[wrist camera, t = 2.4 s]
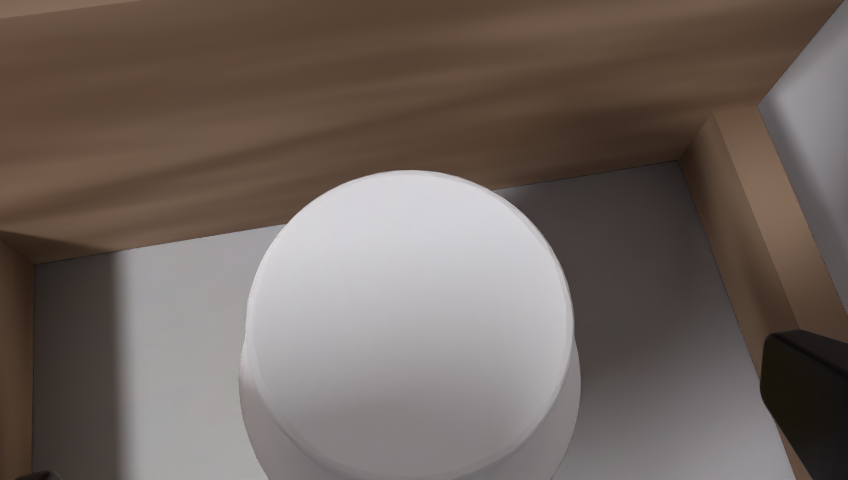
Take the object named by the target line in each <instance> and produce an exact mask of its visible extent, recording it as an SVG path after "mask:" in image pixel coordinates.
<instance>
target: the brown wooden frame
mask: <svg viewBox="0 0 848 480" xmlns="http://www.w3.org/2000/svg"><path fill="white" fill-rule="evenodd" d="M843 1H844V0H0V480H14V479H15V478H16V477H19V476H21V475H25V474H31V473H32V407H33V342H34V277H35V264H41V263H47V262H53V261H59V260H65V259H71V258H77V257H84V256H90V255H96V254H102V253H108V252H114V251H121V250H127V249H133V248H139V247H145V246H151V245H157V244H164V243H170V242H176V241H182V240H188V239H194V238H201V237H207V236H213V235H219V234H225V233H231V232H237V231H244V230H250V229H256V228H262V227H268V226H274V225H281V224H287V223H288V222H289V221H290V220H291V219H292V218H293V217H294V216H295V215H296V214H297V213H298V212H299V211H301V210H302V209H303V208H304V207H305V206H307V205H308V204H309V203H310V202H312V201H313V200H314V199H316V198H317V197H319V196H321V195H322V194H324V193H326V192H327V191H329V190H331V189H333V188H335V187H337V186H339V185H341V184H343V183H346V182H349V181H352V180H355V179H358V178H361V177H365V176H368V175H372V174H376V173H381V172H389V171H399V170H420V171H432V172H440V173H444V174H449V175H453V176H458V177H461V178H463V179H466V180H469V181H471V182H474V183H476V184H478V185H481V186H483V187H486V188H487V189H489V190H496V189H502V188H508V187H514V186H520V185H527V184H533V183H539V182H545V181H551V180H557V179H563V178H570V177H576V176H582V175H588V174H594V173H600V172H607V171H613V170H619V169H625V168H631V167H637V166H643V165H650V164H656V163H662V162H668V161H674V160H678V161H679V163H680V166H681V169H682V171H683V174H684V177H685V180H686V182H687V185H688V188H689V190H690V193H691V196H692V198H693V201H694V204H695V207H696V209H697V212H698V215H699V217H700V220H701V223H702V226H703V228H704V231H705V234H706V236H707V239H708V242H709V245H710V247H711V250H712V253H713V255H714V258H715V261H716V263H717V266H718V269H719V272H720V274H721V277H722V280H723V282H724V285H725V288H726V291H727V293H728V296H729V299H730V301H731V304H732V307H733V309H734V312H735V315H736V318H737V320H738V323H739V326H740V328H741V331H742V334H743V337H744V339H745V342H746V345H747V347H748V350H749V353H750V356H751V358H752V361H753V364H754V366H755V369H756V372H757V374H758V377H759V380H760V375H761V364H762V353H763V344H764V341H765V338H766V337H767V336H768V335H769V334H771V333H774V332H780V331H785V330H790V329H803V330H807V331H810V332H813V333H816V334H820V335H823V336H826V337H829V338H833V339H836V340H839V341H842V342H846V343H848V316H847V314H846V312H845V309H844V307H843V305H842V302H841V300H840V298H839V295H838V293H837V291H836V288H835V286H834V284H833V282H832V279H831V277H830V275H829V272H828V270H827V268H826V265H825V263H824V261H823V258H822V256H821V254H820V251H819V249H818V247H817V244H816V242H815V240H814V237H813V235H812V233H811V230H810V228H809V226H808V223H807V221H806V219H805V216H804V214H803V212H802V210H801V207H800V205H799V203H798V200H797V198H796V196H795V193H794V191H793V189H792V186H791V184H790V182H789V179H788V177H787V175H786V172H785V170H784V168H783V165H782V163H781V161H780V158H779V156H778V154H777V151H776V149H775V147H774V144H773V142H772V140H771V137H770V135H769V133H768V131H767V128H766V126H765V124H764V121H763V119H762V117H761V114H760V112H759V110H758V107H757V105H758V104H759V103H760V101H761V100H762V99H763V98H764V96H765V95H766V94H767V93H768V92H769V90H770V89H771V88H772V87H773V86H774V84H775V83H776V82H777V81H778V80H779V78H780V77H781V76H782V75H783V74H784V72H785V71H786V70H787V69H788V67H789V66H790V65H791V64H792V63H793V61H794V60H795V59H796V58H797V57H798V55H799V54H800V53H801V52H802V51H803V49H804V48H805V47H806V46H807V45H808V43H809V42H810V41H811V40H812V38H813V37H814V36H815V35H816V34H817V32H818V31H819V30H820V29H821V28H822V26H823V25H824V24H825V23H826V22H827V20H828V19H829V18H830V17H831V16H832V14H833V13H834V12H835V11H836V9H837V8H838V7H839V6H840V5H841V3H842V2H843ZM775 423H776V422H775ZM776 426H777V429H778V431H779V434H780V437H781V439H782V442H783V445H784V448H785V450H786V453H787V456H788V458H789V461H790V464H791V467H792V469H793V472H794V475H795V477H796V480H812V479H811V477H810V476H809V474H808V473H807V471H806V469H805V468H804V466H803V465H802V463H801V461H800V460H799V458H798V457H797V455H796V454H795V452H794V450H793V449H792V447H791V446H790V444H789V442H788V441H787V439H786V438H785V436H784V435H783V433H782V431H781V430H780V428H779V427H778V425H777V423H776Z"/></svg>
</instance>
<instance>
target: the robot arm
mask: <svg viewBox="0 0 848 480" xmlns="http://www.w3.org/2000/svg"><path fill="white" fill-rule="evenodd" d="M760 393H761V397H762V400H763V402H764V404H765V406H766V408H767V409H768V411H769V412H770V414H771V415H772V417H773V419H774V420H775V422H776V423H777V425H778V427H779V428H780V430H781V431H782V433H783V435H784V436H785V438H786V439H787V441H788V442H789V444H790V446H791V447H792V449H793V450H794V452H795V454H796V455H797V457H798V458H799V460H800V461H801V463H802V465H803V466H804V468H805V469H806V471H807V473H808V474H809V476H810V477H811V479H812V480H848V343H846V342H842V341H839V340H836V339H833V338H829V337H826V336H823V335H820V334H816V333H813V332H810V331H807V330H803V329H790V330H785V331H780V332H774V333H771V334H769V335H768V336H767V337H766V338H765V341H764V344H763V353H762V364H761V375H760ZM14 480H62V478H61V477H60V475H59V474H58V473H57V472H55V471H52V470H47V471H41V472H36V473H31V474H25V475H21V476H19V477H16V478H15V479H14Z"/></svg>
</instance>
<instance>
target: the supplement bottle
mask: <svg viewBox="0 0 848 480" xmlns="http://www.w3.org/2000/svg"><path fill="white" fill-rule="evenodd" d="M574 324H575V321H574V309H573V304H572V300H571V295H570V290H569V286H568V282H567V280H566V277H565V274H564V272H563V269H562V267H561V265H560V263H559V261H558V259H557V257H556V255H555V253H554V252H553V250H552V248H551V246H550V244H549V243H548V242H547V240H546V239H545V237H544V236H543V234H542V233H541V232H540V231H539V230H538V228H537V227H536V226H535V225H534V224H533V223H532V222H531V221H530V220H529V219H528V218H527V217H526V216H525V215H524V214H523V213H522V212H521V211H520V210H519V209H517V208H516V207H515V206H514V205H512V204H511V203H510V202H508V201H507V200H506V199H504V198H503V197H502V196H500V195H498V194H496V193H495V192H493V191H491V190H489V189H487V188H486V187H483V186H481V185H478V184H476V183H474V182H471V181H469V180H466V179H463V178H461V177H458V176H453V175H449V174H444V173H440V172H432V171H420V170H399V171H389V172H381V173H376V174H372V175H368V176H365V177H361V178H358V179H355V180H352V181H349V182H346V183H343V184H341V185H339V186H337V187H335V188H333V189H331V190H329V191H327V192H326V193H324V194H322V195H321V196H319V197H317V198H316V199H314V200H313V201H312V202H310V203H309V204H308V205H307V206H305V207H304V208H303V209H302V210H301V211H299V212H298V213H297V214H296V215H295V216H294V217H293V218H292V219H291V220H290V221H289V222H288V223H287V225H286V226H285V227H284V228H283V229H282V230H281V231H280V232H279V234H278V235H277V236H276V238H275V239H274V241H273V242H272V244H271V245H270V247H269V248H268V250H267V252H266V253H265V255H264V257H263V259H262V261H261V263H260V265H259V268H258V270H257V272H256V275H255V278H254V281H253V284H252V287H251V290H250V294H249V299H248V304H247V314H246V326H245V333H246V336H245V340H244V345H243V349H242V354H241V360H240V372H239V393H240V403H241V410H242V415H243V420H244V424H245V427H246V430H247V433H248V437H249V440H250V442H251V445H252V447H253V450H254V452H255V455H256V457H257V459H258V461H259V463H260V465H261V467H262V468H263V470H264V472H265V473H266V475H267V477H268V479H269V480H551V479H552V477H553V476H554V474H555V472H556V470H557V469H558V467H559V465H560V464H561V462H562V460H563V458H564V456H565V454H566V451H567V449H568V446H569V444H570V441H571V438H572V435H573V432H574V429H575V425H576V420H577V416H578V411H579V403H580V392H581V375H580V365H579V356H578V350H577V346H576V342H575V338H574Z"/></svg>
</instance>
